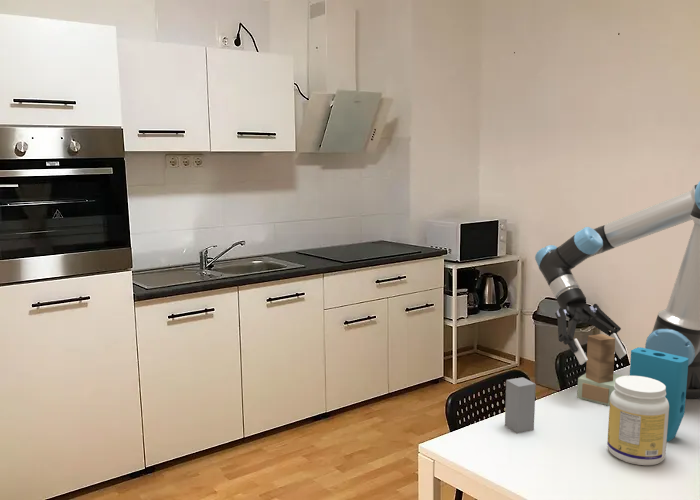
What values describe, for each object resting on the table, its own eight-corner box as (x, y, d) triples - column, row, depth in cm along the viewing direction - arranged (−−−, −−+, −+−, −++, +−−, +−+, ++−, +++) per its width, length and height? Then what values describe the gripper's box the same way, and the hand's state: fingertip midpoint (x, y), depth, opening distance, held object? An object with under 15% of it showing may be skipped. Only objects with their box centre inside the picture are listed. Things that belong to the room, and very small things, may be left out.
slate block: (521, 422, 160) (522, 377, 158) (533, 430, 156) (535, 383, 154) (504, 425, 158) (506, 380, 157) (517, 433, 154) (518, 386, 152)
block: (683, 438, 150) (690, 358, 147) (674, 445, 147) (681, 363, 144) (634, 423, 159) (639, 346, 156) (624, 428, 156) (629, 350, 153)
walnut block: (599, 375, 177) (601, 333, 176) (613, 380, 173) (615, 338, 171) (585, 377, 176) (587, 335, 174) (598, 383, 171) (600, 340, 169)
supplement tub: (616, 437, 151) (620, 370, 149) (671, 452, 144) (676, 381, 141) (599, 456, 142) (603, 384, 139) (657, 473, 134) (662, 397, 132)
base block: (625, 396, 177) (627, 376, 176) (613, 408, 169) (614, 387, 168) (590, 388, 184) (591, 368, 183) (576, 399, 176) (577, 378, 175)
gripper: (594, 297, 189) (630, 359, 178) (526, 304, 180) (559, 371, 169) (608, 283, 184) (646, 346, 172) (539, 290, 174) (574, 358, 163)
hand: (604, 359), depth 170 cm, fingers open, 13 cm apart
